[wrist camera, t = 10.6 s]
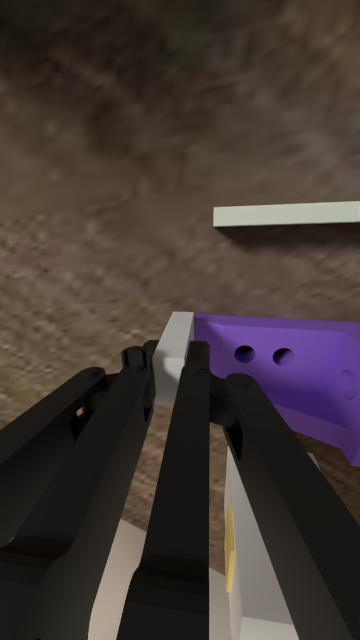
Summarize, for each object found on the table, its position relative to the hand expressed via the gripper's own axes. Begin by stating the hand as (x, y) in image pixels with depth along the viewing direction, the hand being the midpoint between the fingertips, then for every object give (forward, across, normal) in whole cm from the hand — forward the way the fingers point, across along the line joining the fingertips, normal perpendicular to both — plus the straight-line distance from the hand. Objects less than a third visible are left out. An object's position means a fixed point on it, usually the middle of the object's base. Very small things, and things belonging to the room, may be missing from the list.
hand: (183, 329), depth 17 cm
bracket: (+3, +7, -3) cm, 8 cm away
